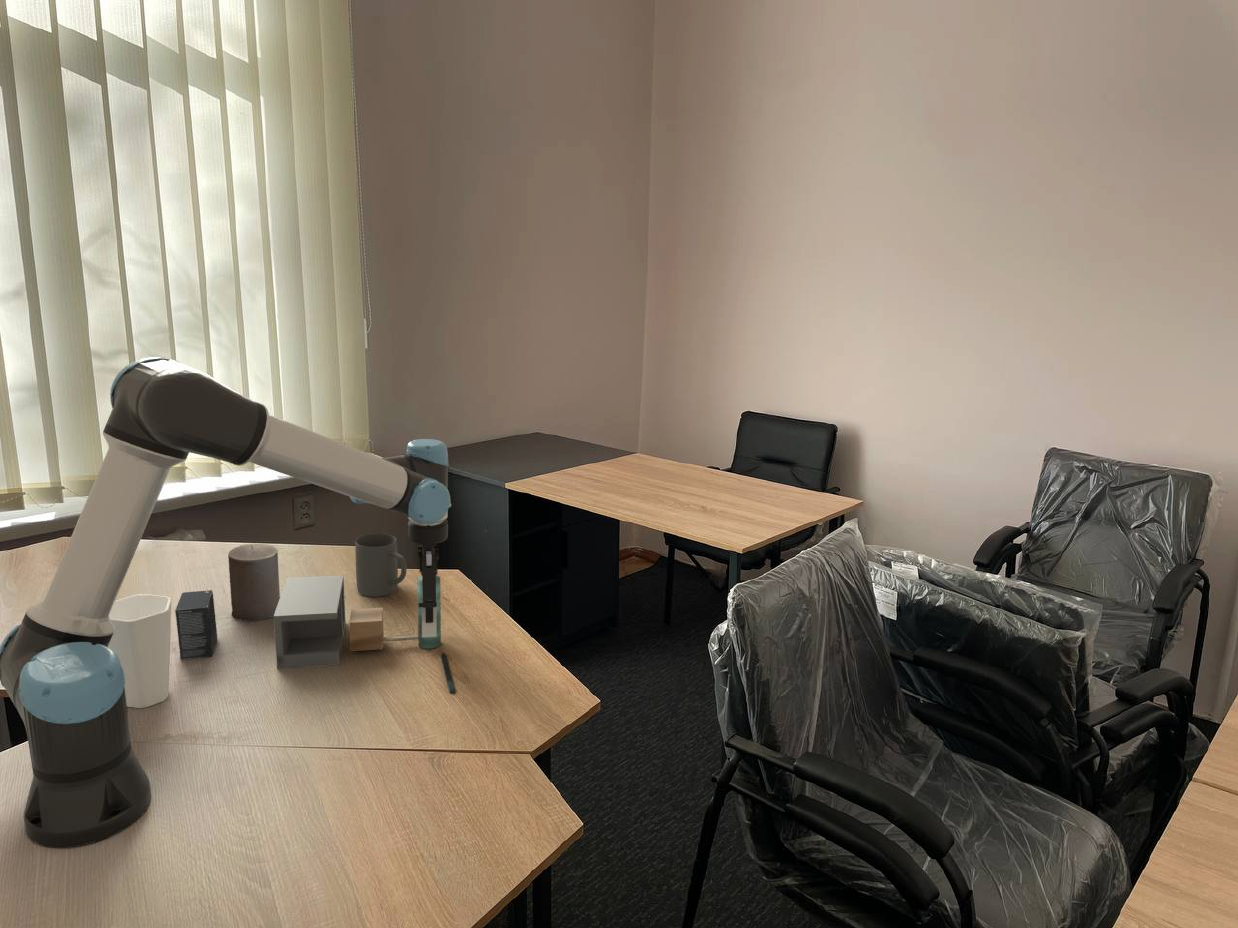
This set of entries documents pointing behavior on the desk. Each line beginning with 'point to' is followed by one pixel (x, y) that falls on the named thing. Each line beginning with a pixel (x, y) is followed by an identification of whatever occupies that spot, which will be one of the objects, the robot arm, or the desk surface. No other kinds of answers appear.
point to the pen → (448, 673)
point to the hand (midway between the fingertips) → (428, 620)
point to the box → (196, 624)
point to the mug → (378, 565)
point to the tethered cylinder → (370, 626)
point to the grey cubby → (310, 622)
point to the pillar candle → (254, 581)
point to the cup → (143, 646)
